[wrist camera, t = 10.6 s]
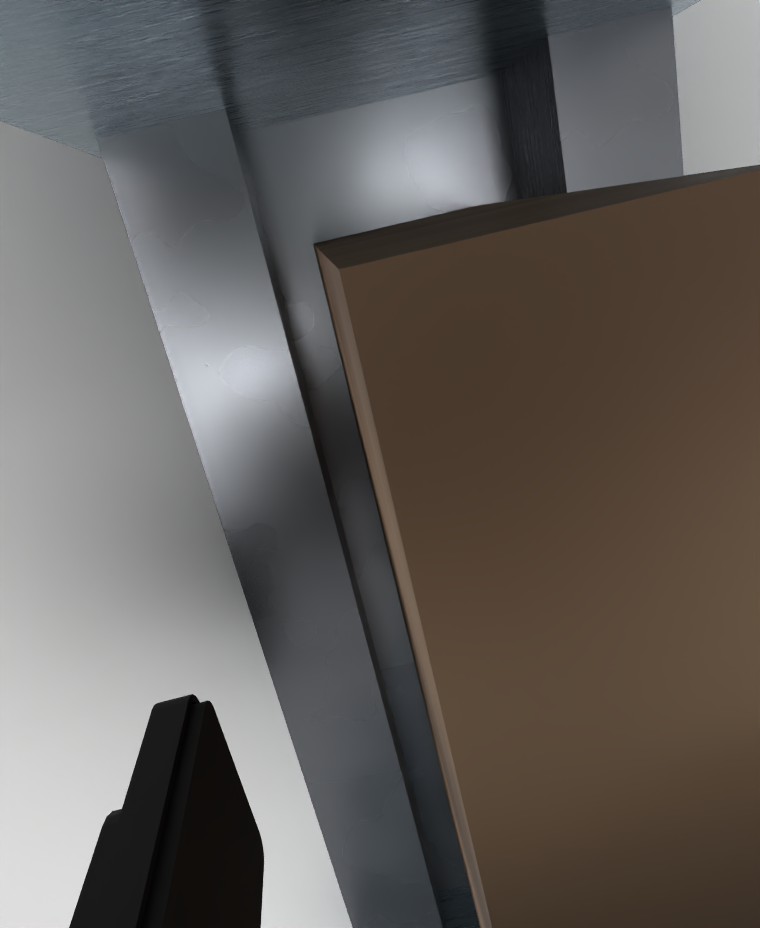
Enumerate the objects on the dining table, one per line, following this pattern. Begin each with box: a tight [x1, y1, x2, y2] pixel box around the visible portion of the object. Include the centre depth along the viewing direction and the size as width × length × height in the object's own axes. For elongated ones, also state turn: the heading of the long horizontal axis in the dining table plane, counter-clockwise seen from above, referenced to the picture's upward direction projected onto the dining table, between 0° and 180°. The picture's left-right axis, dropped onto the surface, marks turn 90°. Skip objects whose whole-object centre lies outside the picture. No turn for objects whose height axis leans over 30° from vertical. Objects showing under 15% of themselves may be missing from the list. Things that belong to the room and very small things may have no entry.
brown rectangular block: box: [313, 165, 760, 928], centre depth 11 cm, size 14×3×9 cm, turn 13°
